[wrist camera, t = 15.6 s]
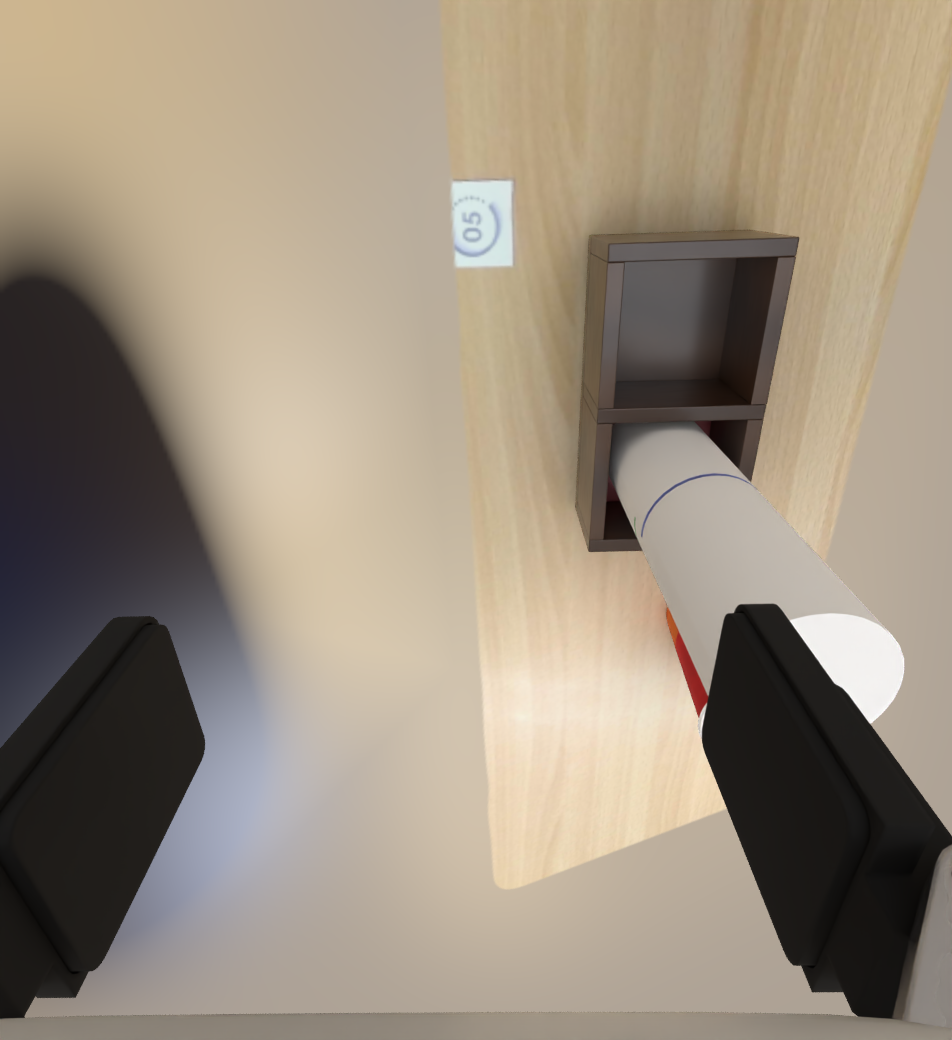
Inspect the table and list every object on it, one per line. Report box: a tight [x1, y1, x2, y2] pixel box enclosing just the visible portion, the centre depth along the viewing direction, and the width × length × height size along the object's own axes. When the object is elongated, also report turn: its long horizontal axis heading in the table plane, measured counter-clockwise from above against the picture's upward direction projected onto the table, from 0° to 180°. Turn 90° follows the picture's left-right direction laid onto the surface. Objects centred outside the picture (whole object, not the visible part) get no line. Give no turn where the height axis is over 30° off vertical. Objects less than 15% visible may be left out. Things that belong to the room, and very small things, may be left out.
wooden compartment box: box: [575, 230, 799, 552], centre depth 42 cm, size 20×10×7 cm, turn 2°
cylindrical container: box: [609, 421, 904, 724], centre depth 35 cm, size 7×7×25 cm
